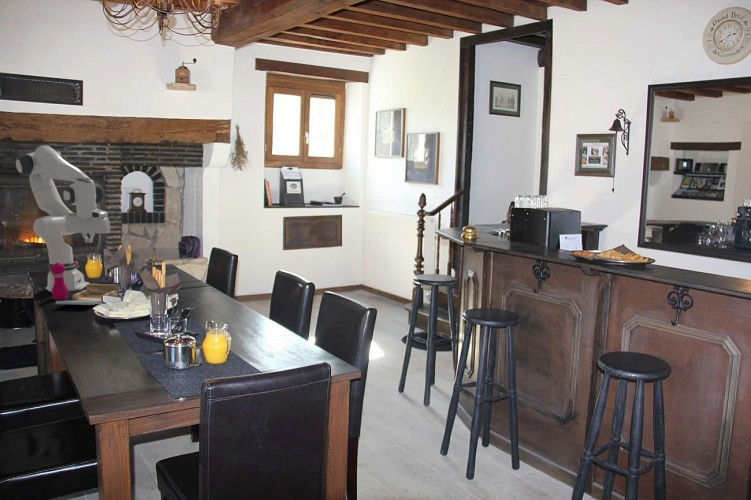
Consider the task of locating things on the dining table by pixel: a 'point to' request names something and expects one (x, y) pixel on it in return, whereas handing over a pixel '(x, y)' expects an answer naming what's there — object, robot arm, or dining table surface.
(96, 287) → the tray
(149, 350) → the dining table surface
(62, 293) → the pepper mill
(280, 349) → the dining table surface
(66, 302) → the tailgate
